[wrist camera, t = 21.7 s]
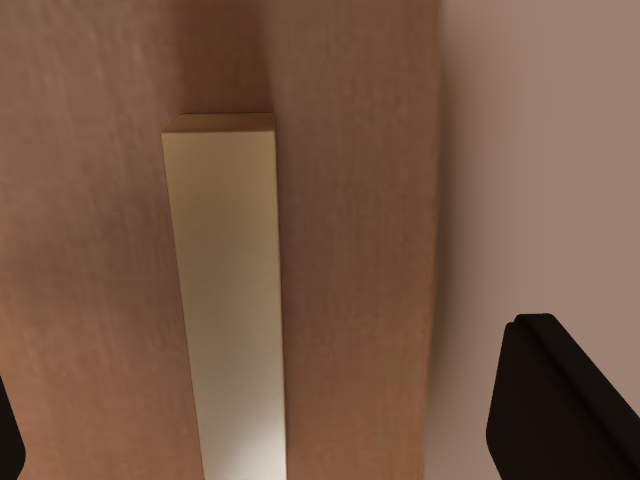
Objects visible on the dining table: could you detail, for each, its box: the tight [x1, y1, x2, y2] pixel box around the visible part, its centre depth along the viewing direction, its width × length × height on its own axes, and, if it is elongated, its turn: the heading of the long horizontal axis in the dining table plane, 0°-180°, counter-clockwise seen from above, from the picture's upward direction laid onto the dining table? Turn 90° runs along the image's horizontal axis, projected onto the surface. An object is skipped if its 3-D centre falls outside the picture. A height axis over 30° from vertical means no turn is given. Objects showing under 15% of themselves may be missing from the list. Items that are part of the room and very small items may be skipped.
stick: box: [161, 113, 288, 480], centre depth 15 cm, size 2×12×2 cm, turn 0°
